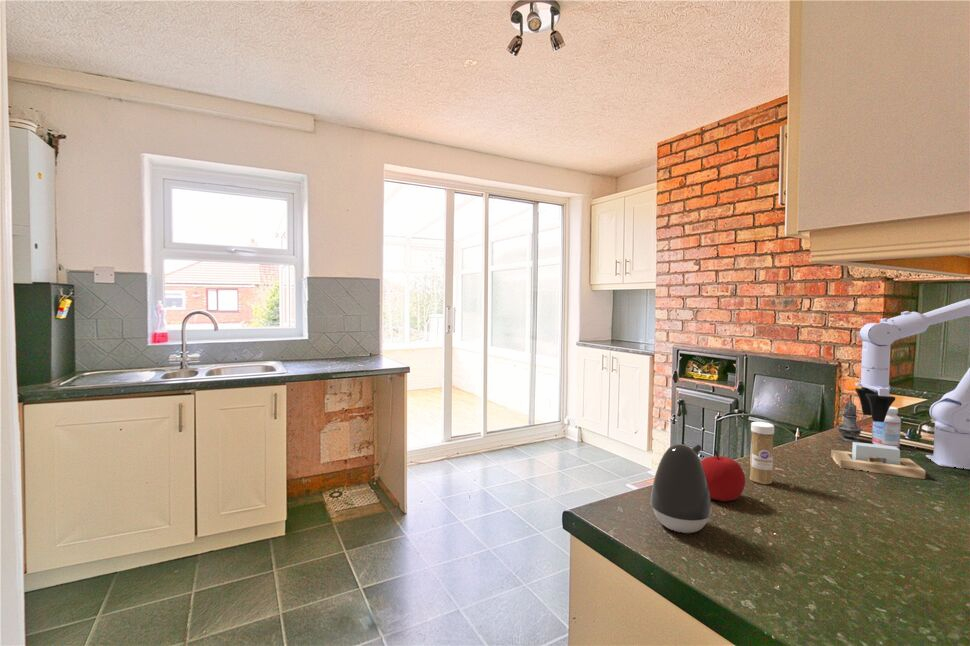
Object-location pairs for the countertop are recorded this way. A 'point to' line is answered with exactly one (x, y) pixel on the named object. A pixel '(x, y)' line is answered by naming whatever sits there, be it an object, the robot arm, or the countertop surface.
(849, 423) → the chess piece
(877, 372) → the robot arm
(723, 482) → the apple
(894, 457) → the pale blue u-shaped block
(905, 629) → the countertop surface
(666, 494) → the grey egg-shaped body
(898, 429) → the pill bottle
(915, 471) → the wooden slotted board
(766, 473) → the sprinkles bottle
